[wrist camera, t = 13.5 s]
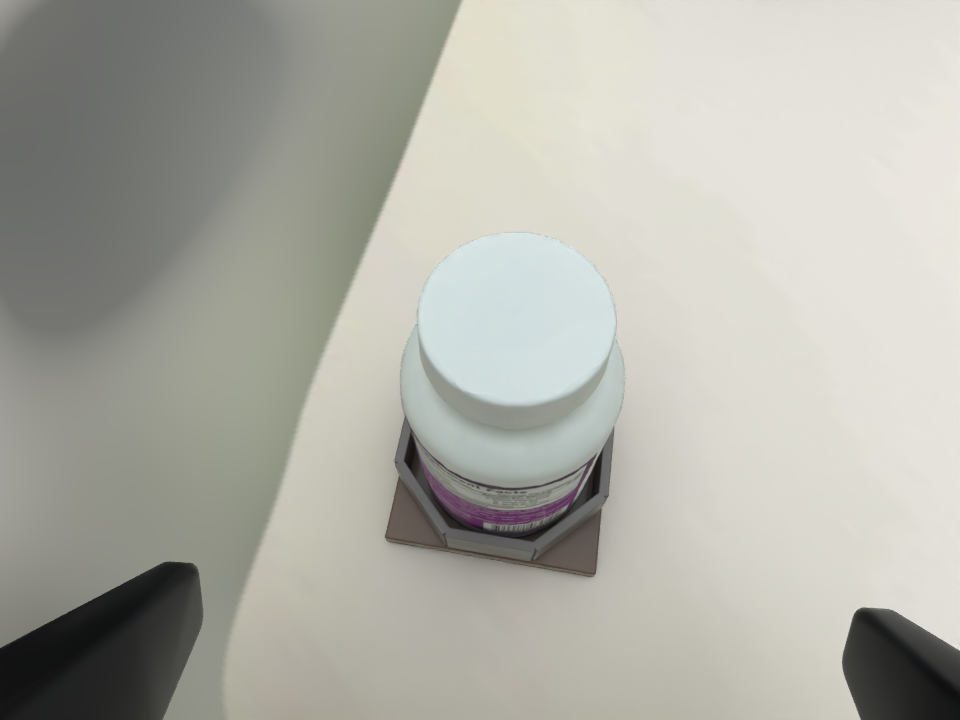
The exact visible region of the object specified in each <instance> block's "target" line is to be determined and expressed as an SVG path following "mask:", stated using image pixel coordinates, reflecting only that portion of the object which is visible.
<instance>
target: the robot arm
mask: <svg viewBox="0 0 960 720" xmlns="http://www.w3.org/2000/svg"><path fill="white" fill-rule="evenodd" d="M202 621H203V605H202V596H201V587H200V579H199V572H198V569H197V567H196V566H195V565H194V564H193V563H184V562H164V563H162V564H160V565H158V566H156V567H154V568H152V569H150V570H148V571H146V572H145V573H143V574H141V575H139V576H137V577H135V578H133V579H131V580H129V581H127V582H125V583H124V584H122V585H120V586H118V587H116V588H114V589H112V590H110V591H108V592H106V593H104V594H102V595H101V596H99V597H97V598H95V599H93V600H91V601H89V602H88V603H85V604H83V605H81V606H80V607H78V608H76V609H74V610H72V611H70V612H68V613H67V614H64V615H62V616H60V617H58V618H57V619H55V620H53V621H51V622H49V623H47V624H45V625H43V626H41V627H39V628H37V629H36V630H34V631H32V632H30V633H28V634H26V635H24V636H22V637H21V638H19V639H17V640H15V641H13V642H11V643H9V644H7V645H5V646H3V647H1V648H0V720H163V718H164V715H165V713H166V710H167V708H168V705H169V703H170V701H171V698H172V696H173V694H174V691H175V689H176V687H177V684H178V682H179V680H180V677H181V675H182V672H183V670H184V668H185V665H186V663H187V661H188V658H189V656H190V653H191V651H192V649H193V646H194V644H195V641H196V639H197V637H198V634H199V632H200V629H201V626H202ZM842 666H843V672H844V676H845V679H846V681H847V684H848V687H849V689H850V692H851V695H852V697H853V700H854V703H855V705H856V708H857V711H858V713H859V716H860V719H861V720H960V651H959V650H958V649H956V648H954V647H953V646H951V645H949V644H948V643H946V642H944V641H943V640H941V639H939V638H938V637H936V636H934V635H933V634H931V633H930V632H928V631H926V630H925V629H923V628H921V627H920V626H918V625H916V624H915V623H913V622H911V621H910V620H908V619H906V618H905V617H903V616H902V615H900V614H898V613H897V612H895V611H893V610H889V609H879V608H860V609H858V610H857V611H856V612H855V613H854V616H853V619H852V622H851V626H850V630H849V634H848V637H847V641H846V645H845V649H844V652H843V658H842Z"/></svg>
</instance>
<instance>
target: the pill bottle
mask: <svg viewBox="0 0 960 720" xmlns="http://www.w3.org/2000/svg"><path fill="white" fill-rule="evenodd" d="M616 327H617V318H616V309H615V303H614V300H613V295H612V293H611V291H610V288H609V286H608V284H607V283H606V281H605V279H604V277H603V276H602V274H601V273H600V272H599V271H598V269H597V268H596V267H595V266H594V265H593V264H592V263H591V262H590V261H589V260H588V259H587V258H586V257H585V256H583V255H582V254H581V253H580V252H578V251H577V250H575V249H573V248H572V247H570V246H569V245H567V244H565V243H563V242H561V241H558V240H556V239H554V238H550V237H548V236H543V235H539V234H533V233H525V232H508V233H497V234H492V235H488V236H485V237H482V238H478V239H475V240H473V241H471V242H468V243H466V244H465V245H463V246H461V247H459V248H458V249H457V250H455V251H454V252H452V253H450V254H449V255H448V256H447V257H446V258H445V259H444V260H443V261H442V262H440V263H439V265H438V266H437V267H436V268H435V269H434V270H433V272H432V273H431V275H430V276H429V278H428V279H427V281H426V283H425V285H424V287H423V290H422V293H421V296H420V299H419V304H418V309H417V324H416V325H415V327H414V328H413V330H412V332H411V334H410V336H409V338H408V341H407V344H406V346H405V349H404V353H403V357H402V362H401V369H400V388H401V400H402V406H403V411H404V414H405V417H406V419H407V422H408V424H409V427H410V430H411V433H412V436H413V439H414V442H415V446H416V449H417V453H418V456H419V459H420V462H421V466H422V468H423V471H424V473H425V476H426V479H427V481H428V484H429V486H430V488H431V491H432V493H433V494H434V496H435V498H436V499H437V501H438V502H439V504H440V505H441V506H442V508H443V509H444V510H445V511H446V512H447V513H448V514H449V515H450V516H451V517H452V518H453V519H455V520H456V521H457V522H459V523H460V524H462V525H463V526H465V527H467V528H469V529H471V530H473V531H475V532H479V533H485V534H491V535H497V536H503V537H508V538H515V537H522V536H526V535H530V534H534V533H536V532H538V531H541V530H543V529H545V528H547V527H549V526H551V525H552V524H554V523H555V522H557V521H558V520H559V519H560V518H561V517H563V516H564V515H565V514H566V513H567V512H568V511H569V510H570V509H571V508H572V506H573V505H574V504H575V502H576V501H577V499H578V497H579V496H580V494H581V492H582V490H583V487H584V485H585V483H586V481H587V479H588V477H589V475H590V473H591V471H592V469H593V467H594V465H595V462H596V460H597V458H598V456H599V454H600V452H601V450H602V448H603V446H604V445H605V443H606V441H607V439H608V437H609V435H610V433H611V431H612V429H613V427H614V425H615V423H616V421H617V418H618V416H619V413H620V411H621V408H622V403H623V398H624V391H625V369H624V361H623V357H622V353H621V350H620V347H619V344H618V342H617V339H616Z"/></svg>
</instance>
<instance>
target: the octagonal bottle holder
mask: <svg viewBox="0 0 960 720" xmlns="http://www.w3.org/2000/svg"><path fill="white" fill-rule="evenodd" d="M613 437H614V427H613V429H612V431H611V433H610V435H609V437H608V439H607V441H606V443H605V445H604V446H603V448H602V450H601V452H600V454H599V456H598V458H597V460H596V462H595V465H594V467H593V469H592V471H591V473H590V475H589V477H588V479H587V481H586V483H585V485H584V487H583V490H582V492H581V494H580V496H579V497H578V499H577V501H576V502H575V504H574V505H573V506H572V508H571V509H570V510H569V511H568V512H567V513H566V514H565V515H564V516H563V517H561V518H560V519H559V520H558V521H557V522H555V523H554V524H552V525H551V526H549V527H547V528H545V529H543V530H541V531H538V532H536V533H534V534H530V535H526V536H522V537H515V538H508V537H503V536H497V535H491V534H485V533H479V532H475V531H473V530H471V529H469V528H467V527H465V526H463V525H462V524H460V523H459V522H457V521H456V520H455V519H453V518H452V517H451V516H450V515H449V514H448V513H447V512H446V511H445V510H444V509H443V508H442V506H441V505H440V504H439V502H438V501H437V499H436V498H435V496H434V494H433V493H432V491H431V488H430V486H429V484H428V481H427V479H426V476H425V473H424V471H423V468H422V466H421V462H420V459H419V456H418V453H417V449H416V446H415V442H414V439H413V436H412V433H411V430H410V427H409V424H408V422H407V419H406V417H405V418H404V423H403V427H402V431H401V435H400V439H399V444H398V448H397V452H396V456H395V466H396V469H397V471H398V474H399V479H398V483H397V487H396V492H395V496H394V500H393V505H392V509H391V513H390V518H389V522H388V526H387V531H386V535H385V538H386V540H387V541H390V542H396V543H402V544H407V545H413V546H419V547H425V548H430V549H436V550H442V551H447V552H453V553H459V554H465V555H470V556H476V557H482V558H488V559H493V560H499V561H505V562H511V563H516V564H522V565H528V566H533V567H539V568H545V569H551V570H556V571H562V572H568V573H574V574H579V575H585V576H591V577H593V576H594V575H595V574H596V565H597V554H598V543H599V531H600V520H601V509H602V506H603V504H604V503H605V501H606V499H607V498H608V496H609V484H610V472H611V460H612V449H613Z"/></svg>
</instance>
